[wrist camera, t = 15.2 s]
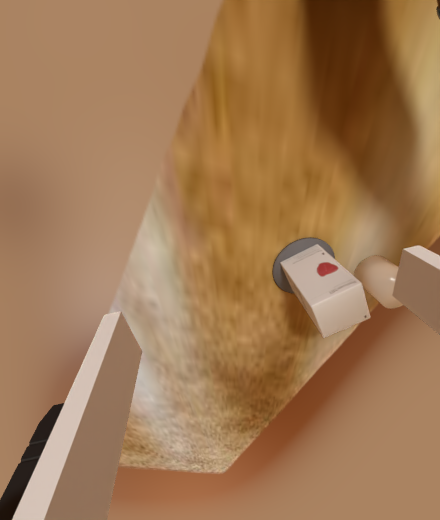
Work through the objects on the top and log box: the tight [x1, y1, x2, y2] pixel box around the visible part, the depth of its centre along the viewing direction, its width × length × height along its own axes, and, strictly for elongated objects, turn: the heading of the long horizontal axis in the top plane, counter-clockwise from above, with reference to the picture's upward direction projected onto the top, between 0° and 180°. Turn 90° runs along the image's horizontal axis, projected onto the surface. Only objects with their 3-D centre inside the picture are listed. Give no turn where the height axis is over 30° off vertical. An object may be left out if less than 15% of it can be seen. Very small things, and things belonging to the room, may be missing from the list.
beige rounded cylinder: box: [354, 255, 403, 308], centre depth 52 cm, size 8×8×9 cm
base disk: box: [273, 238, 335, 293], centre depth 53 cm, size 14×14×1 cm
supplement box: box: [280, 244, 371, 338], centre depth 46 cm, size 9×9×15 cm
